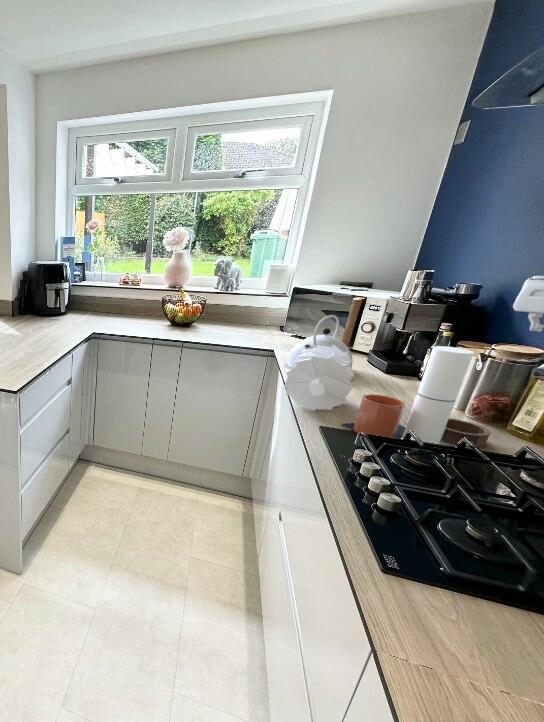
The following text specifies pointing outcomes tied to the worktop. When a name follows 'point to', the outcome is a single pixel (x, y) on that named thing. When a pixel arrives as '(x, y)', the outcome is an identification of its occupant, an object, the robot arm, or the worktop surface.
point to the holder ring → (465, 432)
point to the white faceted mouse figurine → (320, 378)
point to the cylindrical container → (438, 392)
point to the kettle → (319, 343)
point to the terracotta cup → (378, 415)
